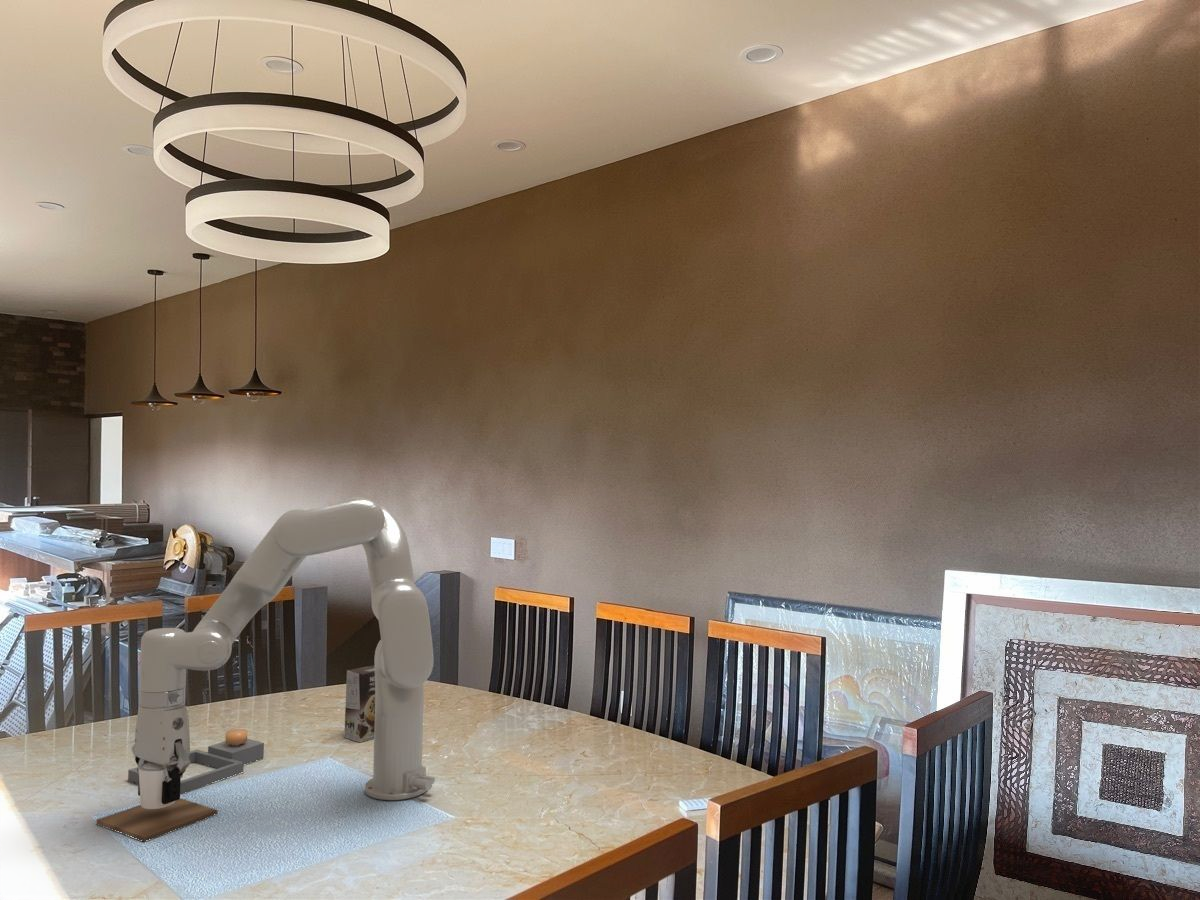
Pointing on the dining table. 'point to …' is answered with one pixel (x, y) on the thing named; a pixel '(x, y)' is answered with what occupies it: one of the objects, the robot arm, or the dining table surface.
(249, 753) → the housing
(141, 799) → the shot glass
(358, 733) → the coffee box
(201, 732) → the dining table surface
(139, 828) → the walnut mat
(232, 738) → the orange rounded piece
